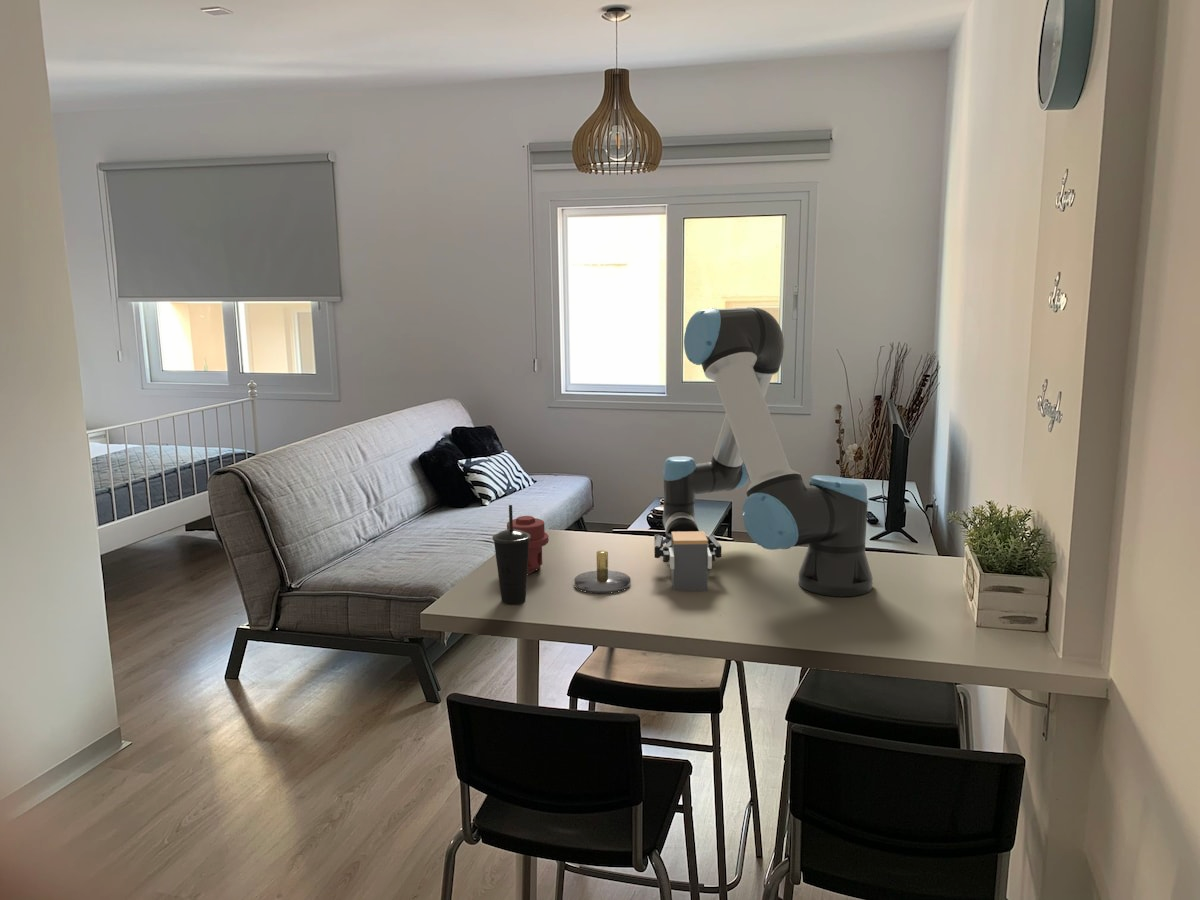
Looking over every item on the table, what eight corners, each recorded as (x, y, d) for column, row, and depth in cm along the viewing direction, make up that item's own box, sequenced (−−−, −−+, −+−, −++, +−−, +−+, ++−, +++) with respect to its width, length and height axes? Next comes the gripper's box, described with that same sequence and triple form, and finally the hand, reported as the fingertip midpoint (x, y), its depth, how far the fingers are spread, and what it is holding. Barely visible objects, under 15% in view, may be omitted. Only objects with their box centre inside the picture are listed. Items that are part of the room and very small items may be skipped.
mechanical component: (550, 564, 208) (547, 577, 198) (507, 564, 208) (502, 578, 198) (549, 512, 206) (546, 523, 196) (505, 512, 206) (500, 523, 196)
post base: (636, 577, 197) (636, 546, 196) (622, 595, 186) (622, 562, 185) (583, 573, 200) (583, 542, 199) (567, 591, 189) (566, 558, 188)
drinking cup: (499, 593, 188) (496, 500, 185) (535, 595, 187) (533, 501, 184) (490, 606, 181) (486, 509, 177) (527, 608, 180) (525, 510, 176)
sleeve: (703, 579, 196) (704, 531, 194) (707, 590, 189) (707, 540, 187) (671, 579, 196) (671, 531, 194) (673, 590, 189) (673, 540, 187)
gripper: (725, 547, 209) (739, 579, 187) (639, 548, 209) (642, 580, 187) (725, 516, 208) (739, 544, 185) (639, 517, 208) (642, 545, 186)
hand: (691, 562), depth 186 cm, fingers closed on sleeve, 7 cm apart
